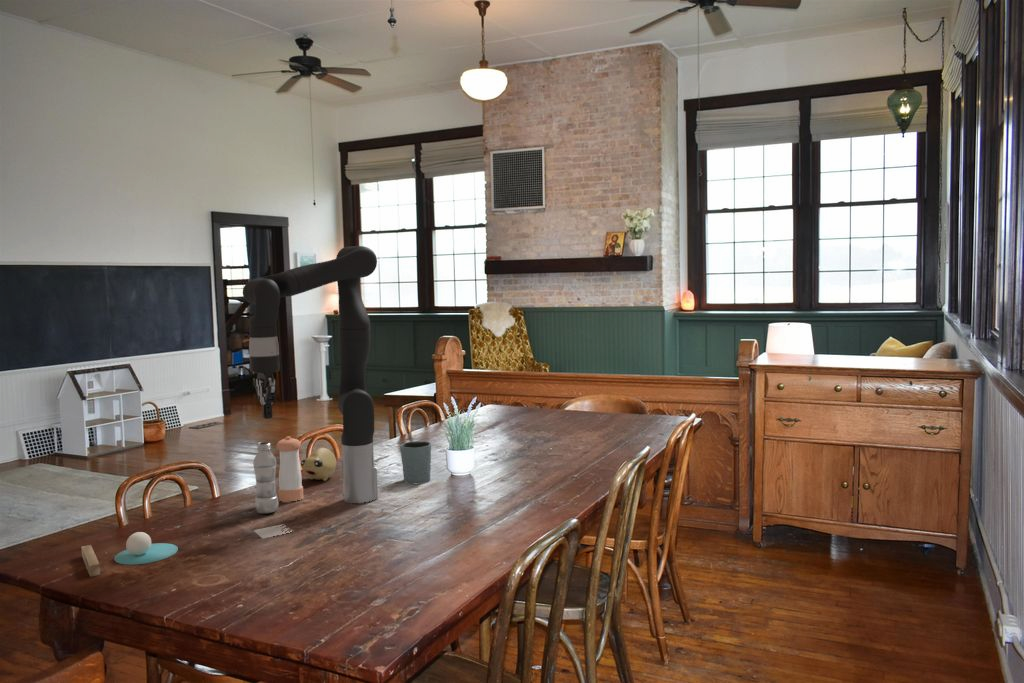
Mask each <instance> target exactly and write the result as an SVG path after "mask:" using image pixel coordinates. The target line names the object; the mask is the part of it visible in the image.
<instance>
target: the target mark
mask: <svg viewBox="0 0 1024 683" xmlns="http://www.w3.org/2000/svg"><path fill="white" fill-rule="evenodd" d="M178 551H179V548H178V546H177V545H175V544H172V543H166V542H161V543H158V542H157V543H151V547H150V549H149V550H148V551H147V552H146V553H144V554H142V555H133V554H131V553H129V552H128V550H127V549H124V550H122V551H120V552H119V553H117V554H116V555H115V556H114V558H113V559H114V561H115V563H117V564H121V565H125V566H126V565H127V566H129V565H131V566H134V565H144V564H145V565H146V564H150V563H157V562H159V561H162V560H165V559H168V558H170V557H172V556H174V555H176V553H178Z"/></svg>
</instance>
